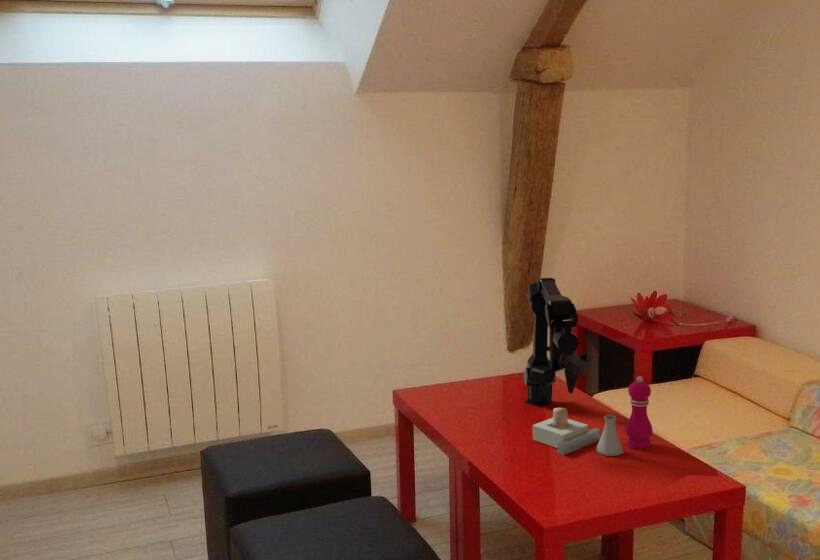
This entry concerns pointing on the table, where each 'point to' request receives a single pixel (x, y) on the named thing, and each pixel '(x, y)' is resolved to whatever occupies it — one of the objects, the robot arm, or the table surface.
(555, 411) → the dowel
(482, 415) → the table surface
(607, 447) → the flask
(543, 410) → the table surface
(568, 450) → the bar
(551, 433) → the block
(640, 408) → the pepper mill
